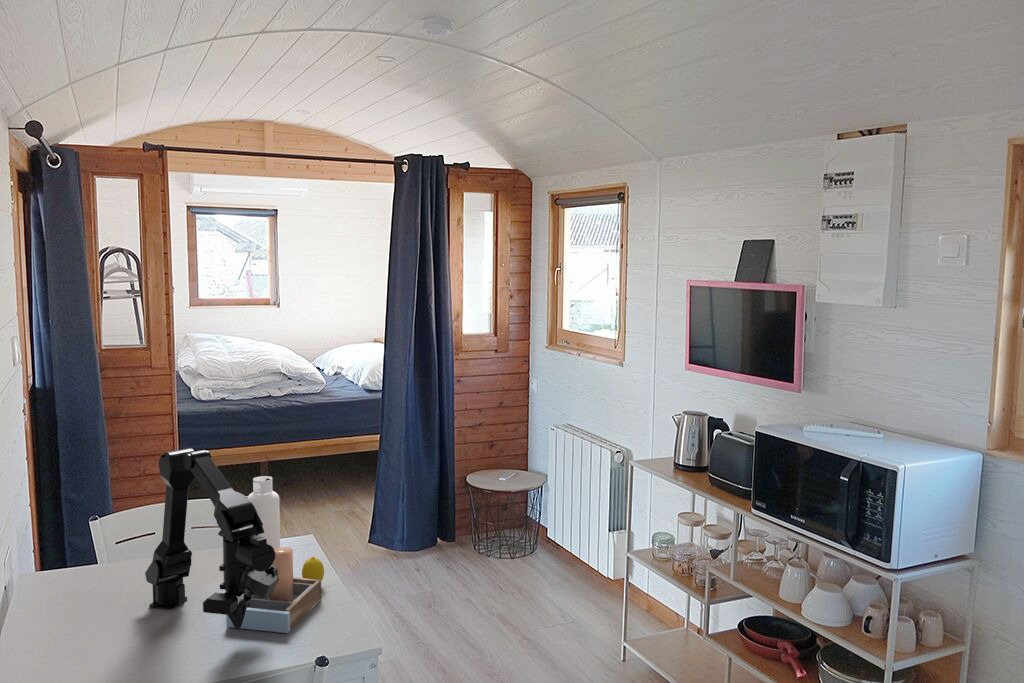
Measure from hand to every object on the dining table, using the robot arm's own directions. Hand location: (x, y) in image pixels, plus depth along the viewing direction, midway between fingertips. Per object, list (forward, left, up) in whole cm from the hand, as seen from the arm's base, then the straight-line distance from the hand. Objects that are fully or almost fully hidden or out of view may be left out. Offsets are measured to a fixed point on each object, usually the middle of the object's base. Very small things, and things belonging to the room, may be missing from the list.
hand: (238, 627), depth 182 cm
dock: (+1, +17, -4) cm, 17 cm away
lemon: (+3, +32, -4) cm, 33 cm away
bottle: (-10, +31, -4) cm, 33 cm away
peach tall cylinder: (+1, +19, -2) cm, 19 cm away
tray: (+1, +16, -4) cm, 16 cm away
